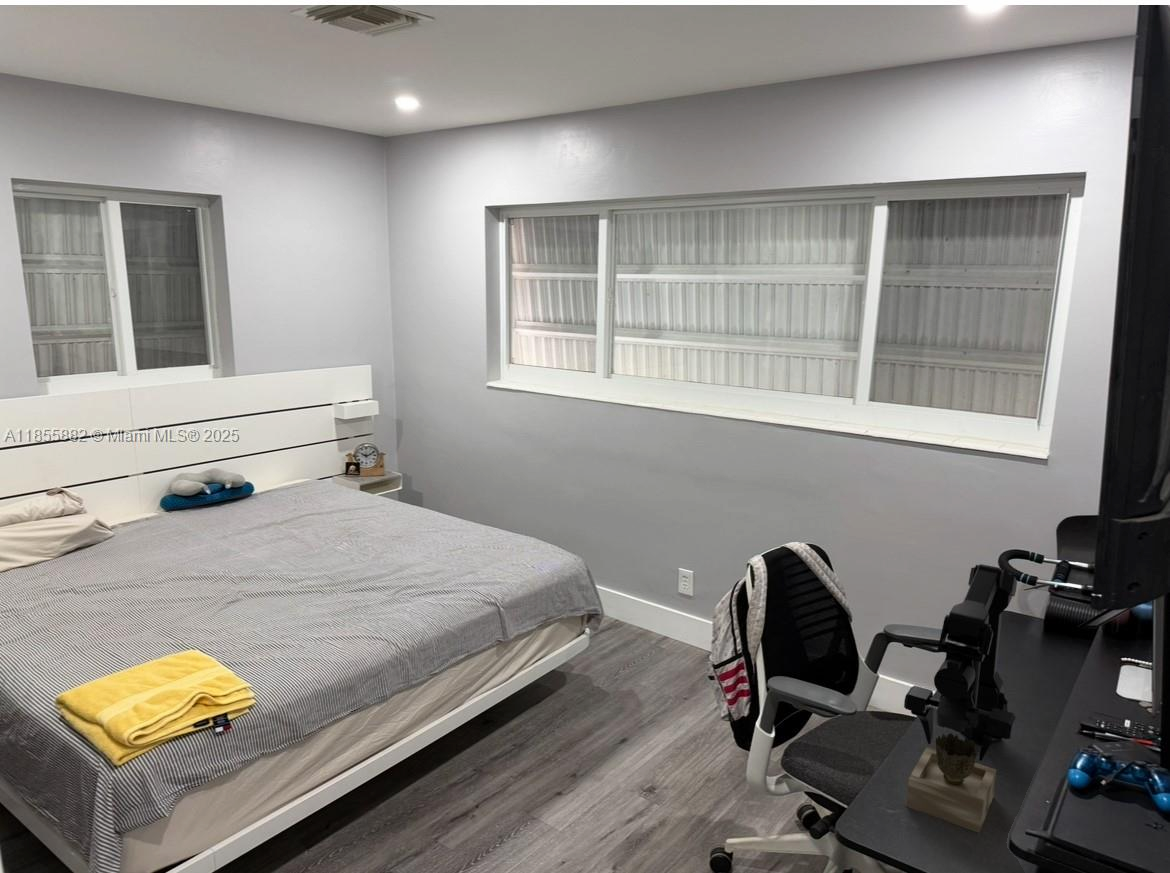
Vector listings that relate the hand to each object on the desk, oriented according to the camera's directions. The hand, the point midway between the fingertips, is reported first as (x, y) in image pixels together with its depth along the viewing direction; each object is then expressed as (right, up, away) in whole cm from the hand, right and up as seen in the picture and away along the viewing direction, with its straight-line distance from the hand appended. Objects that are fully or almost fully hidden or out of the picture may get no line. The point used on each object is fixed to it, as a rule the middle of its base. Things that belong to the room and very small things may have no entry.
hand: (954, 751), depth 156 cm
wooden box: (0, -11, +2) cm, 11 cm away
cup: (0, -6, +1) cm, 7 cm away
